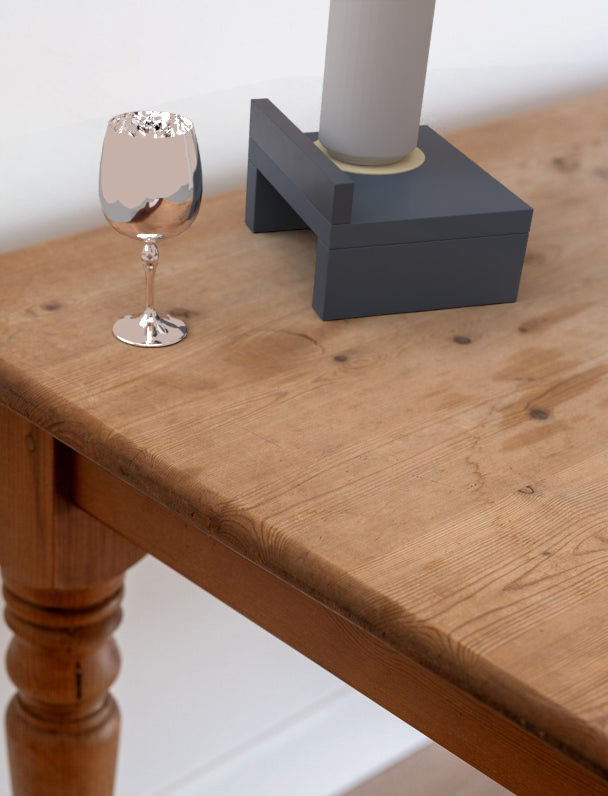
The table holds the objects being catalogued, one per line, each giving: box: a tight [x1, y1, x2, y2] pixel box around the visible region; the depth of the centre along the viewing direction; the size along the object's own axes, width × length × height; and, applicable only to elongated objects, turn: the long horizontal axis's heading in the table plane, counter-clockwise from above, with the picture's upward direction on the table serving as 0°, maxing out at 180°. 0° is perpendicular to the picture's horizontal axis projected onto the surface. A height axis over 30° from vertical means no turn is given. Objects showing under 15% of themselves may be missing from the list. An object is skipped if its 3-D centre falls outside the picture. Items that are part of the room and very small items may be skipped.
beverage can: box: [318, 0, 437, 166], centre depth 81 cm, size 6×6×12 cm
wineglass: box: [97, 110, 204, 348], centre depth 73 cm, size 6×6×12 cm
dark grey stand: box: [244, 97, 535, 321], centre depth 84 cm, size 13×16×8 cm
